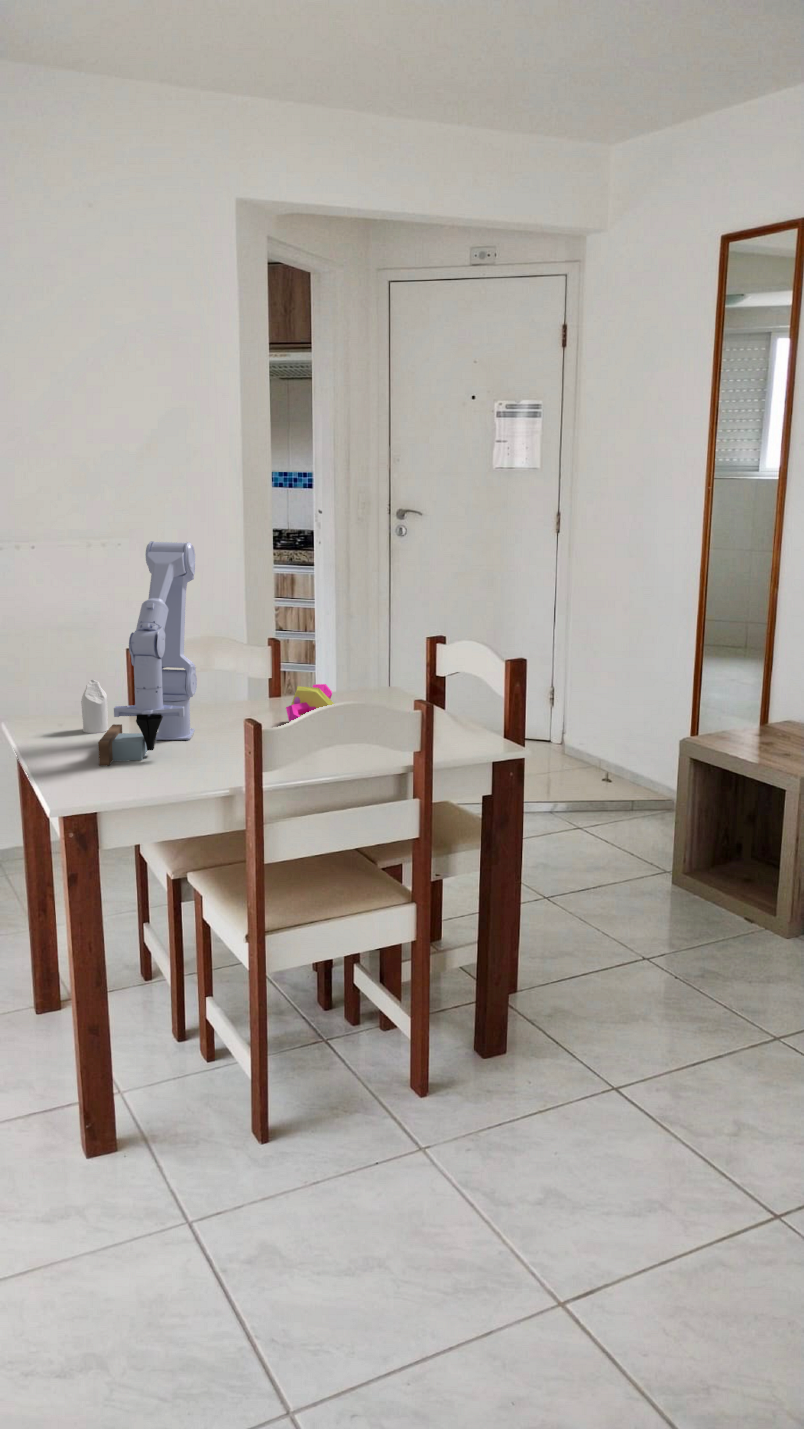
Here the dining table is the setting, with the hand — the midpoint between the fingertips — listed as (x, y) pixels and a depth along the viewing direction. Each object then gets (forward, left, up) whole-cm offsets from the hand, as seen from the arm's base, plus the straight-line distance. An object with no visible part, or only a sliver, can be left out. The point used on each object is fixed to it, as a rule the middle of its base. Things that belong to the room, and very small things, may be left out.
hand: (150, 749), depth 240 cm
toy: (-31, +34, -2) cm, 46 cm away
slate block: (0, -4, -2) cm, 5 cm away
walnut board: (0, -8, -1) cm, 8 cm away
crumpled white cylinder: (-24, -16, -2) cm, 29 cm away
